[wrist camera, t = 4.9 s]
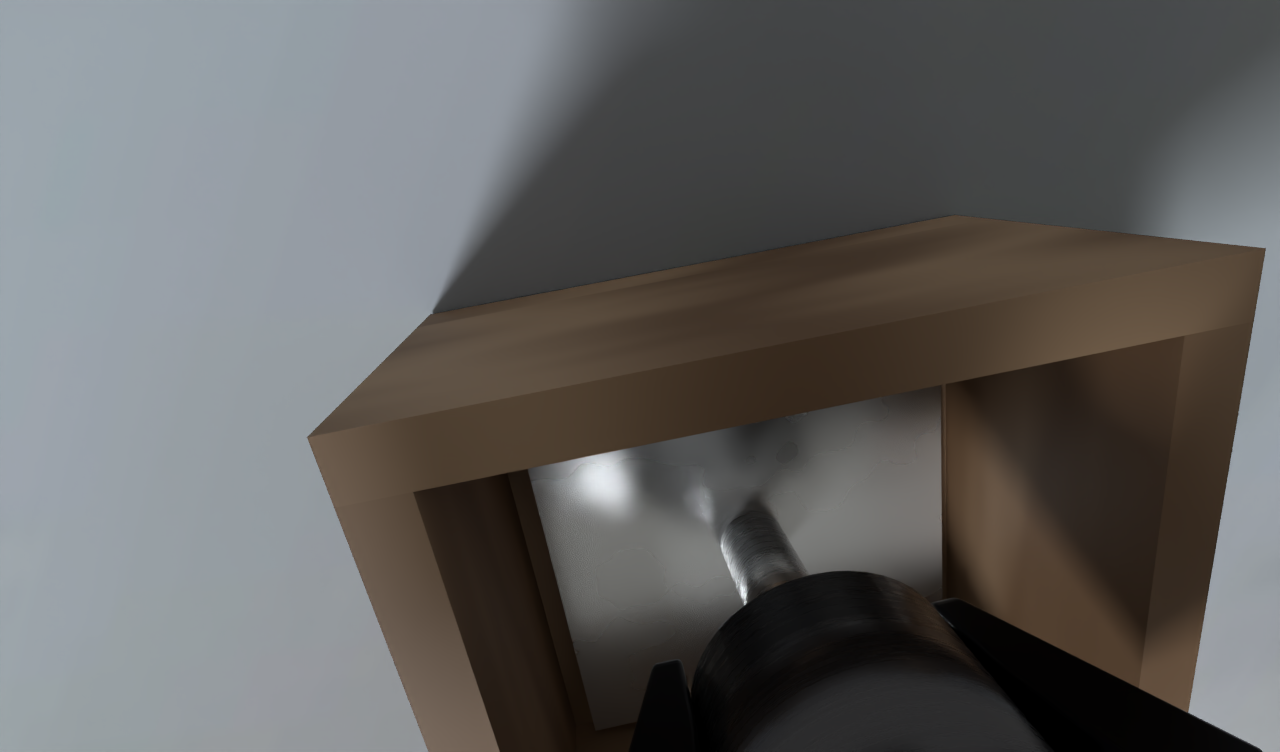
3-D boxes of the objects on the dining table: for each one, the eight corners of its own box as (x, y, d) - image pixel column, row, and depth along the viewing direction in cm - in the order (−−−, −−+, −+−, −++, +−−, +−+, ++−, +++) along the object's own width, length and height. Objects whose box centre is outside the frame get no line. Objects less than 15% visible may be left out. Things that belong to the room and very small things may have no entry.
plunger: (921, 305, 11) (1383, 479, 5) (927, 632, 13) (1237, 1033, 7) (512, 385, 11) (428, 687, 4) (594, 707, 13) (615, 1196, 7)
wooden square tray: (954, 214, 12) (1266, 248, 6) (954, 632, 15) (1159, 878, 10) (430, 314, 11) (308, 437, 6) (549, 722, 14) (536, 1031, 9)
